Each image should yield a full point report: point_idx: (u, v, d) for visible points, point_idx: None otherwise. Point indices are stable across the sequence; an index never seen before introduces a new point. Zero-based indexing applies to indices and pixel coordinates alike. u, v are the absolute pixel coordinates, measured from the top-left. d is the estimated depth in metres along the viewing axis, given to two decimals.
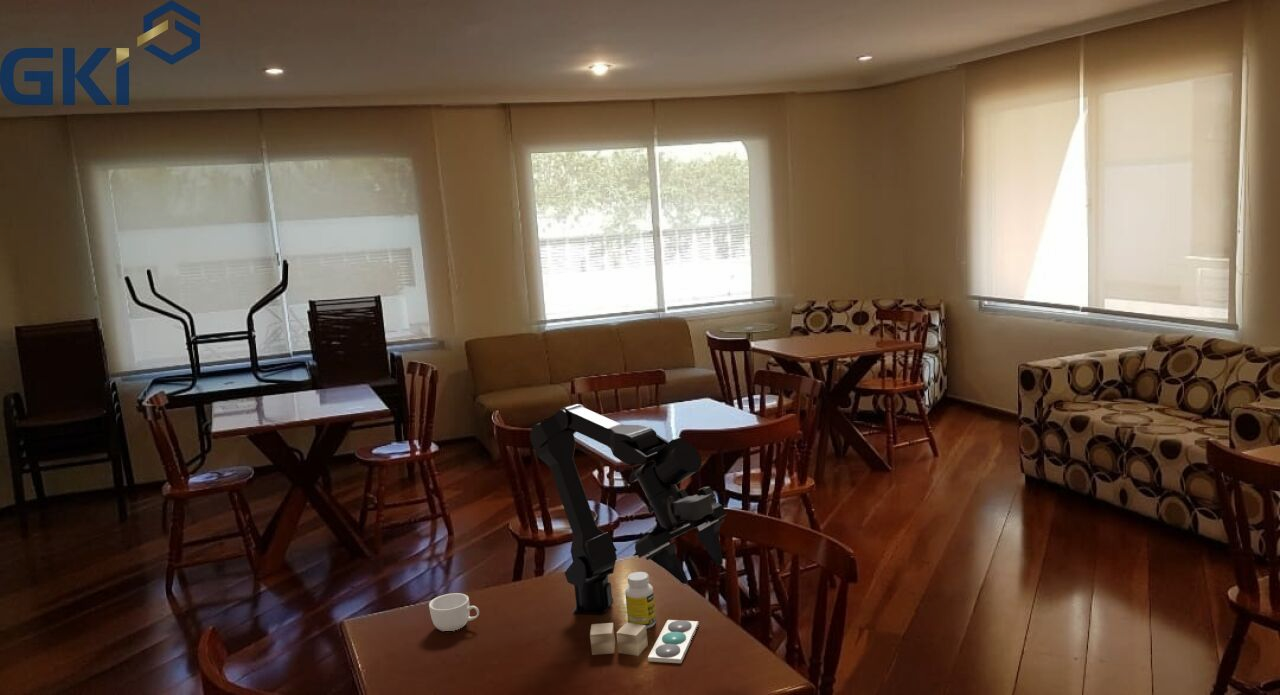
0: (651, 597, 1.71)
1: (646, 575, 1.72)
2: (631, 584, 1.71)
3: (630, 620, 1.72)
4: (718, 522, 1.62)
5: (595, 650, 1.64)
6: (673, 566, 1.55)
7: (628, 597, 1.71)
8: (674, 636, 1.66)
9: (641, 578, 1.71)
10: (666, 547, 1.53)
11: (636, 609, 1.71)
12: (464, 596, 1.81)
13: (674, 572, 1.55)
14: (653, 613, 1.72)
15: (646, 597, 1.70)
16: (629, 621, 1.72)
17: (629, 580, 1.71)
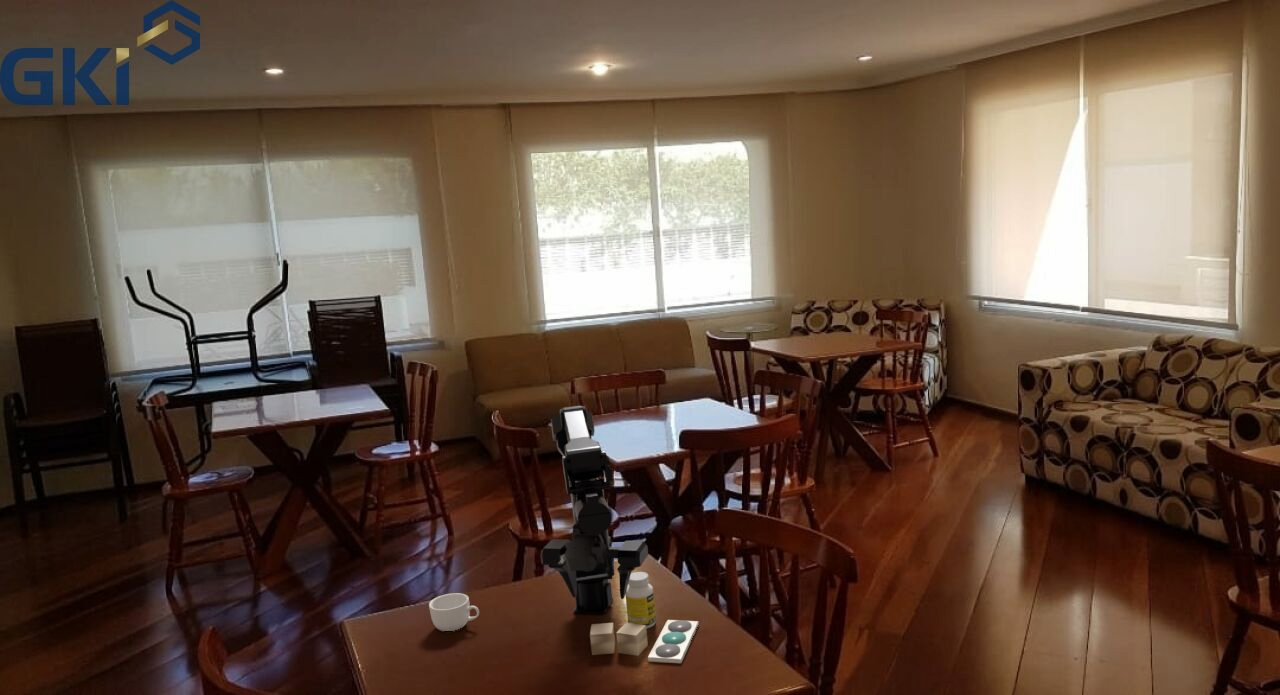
0: (651, 597, 1.71)
1: (646, 575, 1.72)
2: (631, 584, 1.71)
3: (630, 620, 1.72)
4: (623, 570, 1.58)
5: (595, 651, 1.64)
6: None
7: (628, 597, 1.71)
8: (674, 636, 1.66)
9: (641, 578, 1.71)
10: (551, 567, 1.62)
11: (636, 609, 1.71)
12: (464, 596, 1.81)
13: None
14: (653, 613, 1.72)
15: (646, 597, 1.70)
16: (629, 621, 1.72)
17: (629, 580, 1.71)
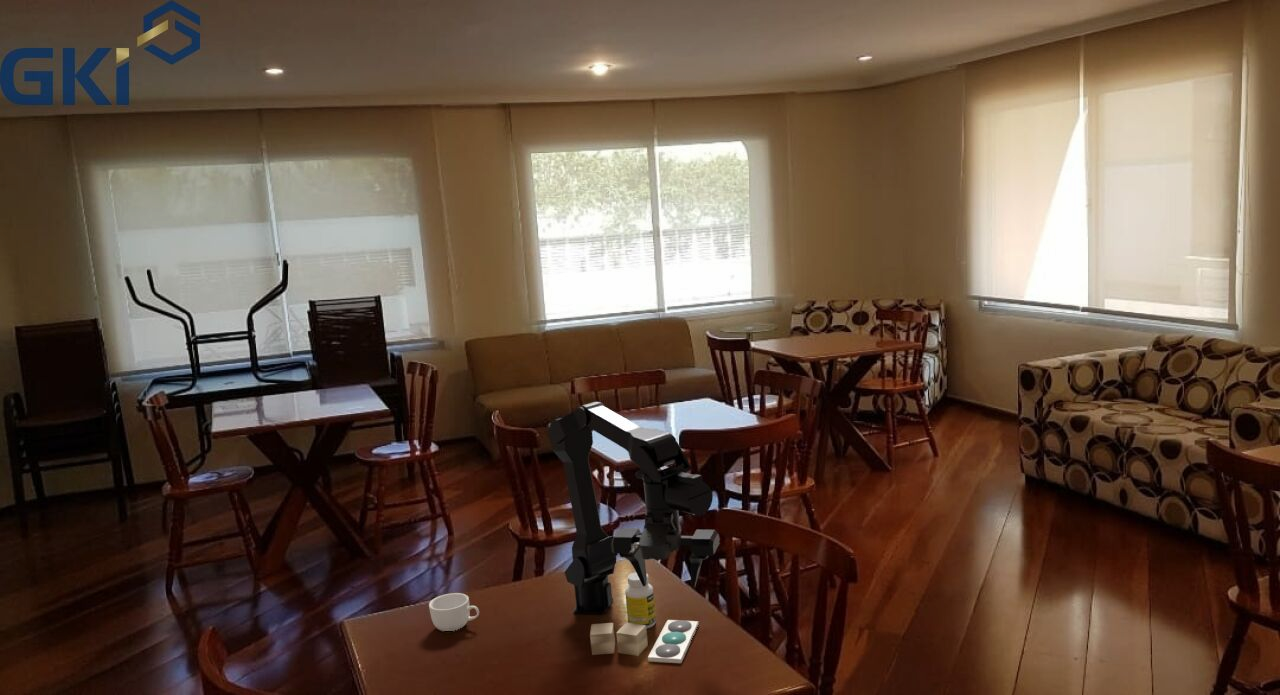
0: (651, 597, 1.71)
1: None
2: (631, 584, 1.71)
3: (630, 620, 1.72)
4: (696, 558, 1.58)
5: (595, 651, 1.64)
6: None
7: (628, 597, 1.71)
8: (674, 636, 1.66)
9: None
10: (622, 556, 1.62)
11: (636, 609, 1.71)
12: (464, 596, 1.81)
13: None
14: (653, 613, 1.72)
15: (646, 597, 1.70)
16: (629, 621, 1.72)
17: (629, 580, 1.71)
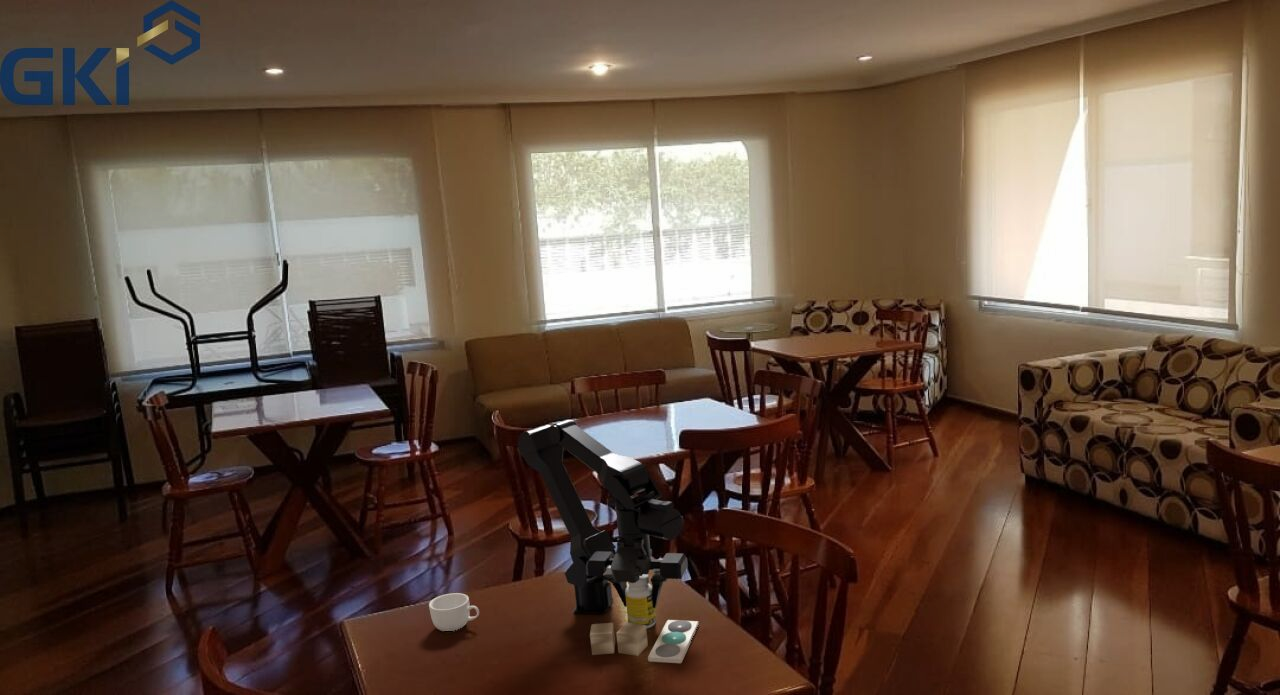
0: (651, 597, 1.71)
1: (646, 575, 1.72)
2: (631, 584, 1.71)
3: (630, 620, 1.72)
4: (656, 581, 1.68)
5: (595, 650, 1.64)
6: None
7: (628, 596, 1.71)
8: (674, 636, 1.66)
9: (641, 578, 1.71)
10: (604, 579, 1.71)
11: (636, 609, 1.71)
12: (464, 596, 1.81)
13: None
14: (653, 613, 1.72)
15: (646, 597, 1.70)
16: (629, 621, 1.72)
17: None
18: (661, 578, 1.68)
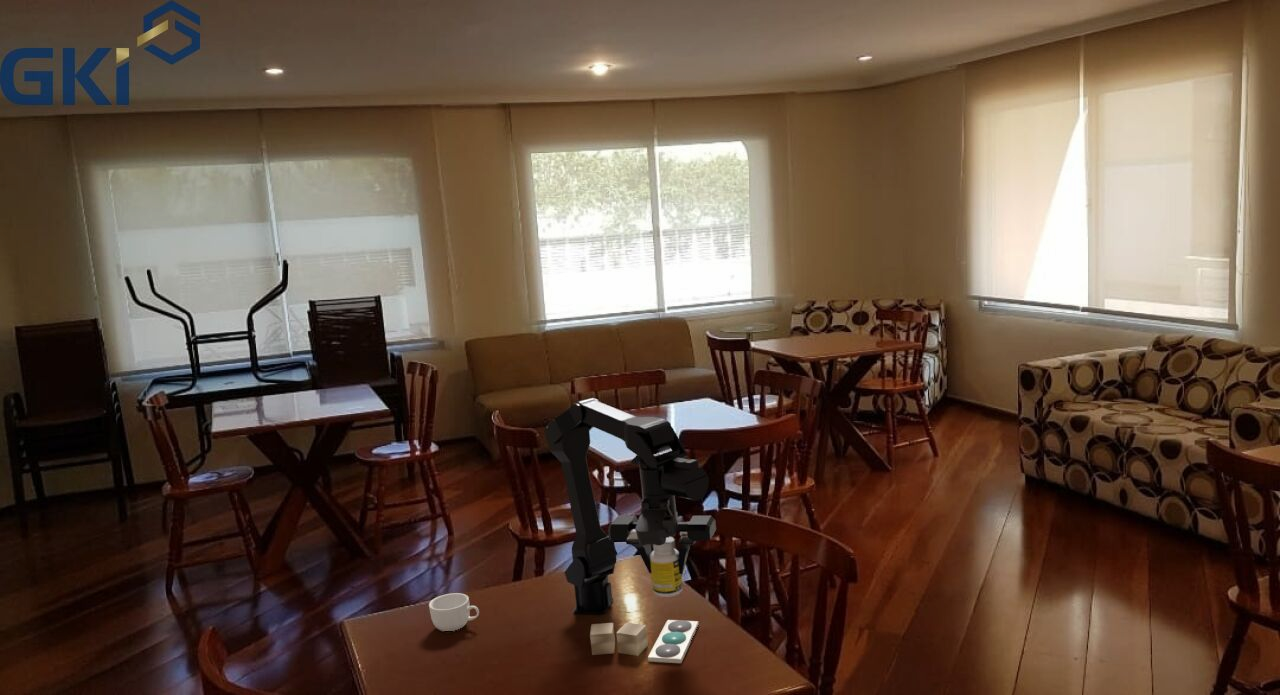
0: (678, 562, 1.62)
1: (672, 539, 1.63)
2: (656, 548, 1.61)
3: (655, 587, 1.62)
4: (683, 544, 1.59)
5: (595, 650, 1.64)
6: None
7: (653, 562, 1.62)
8: (674, 636, 1.66)
9: (667, 542, 1.61)
10: (628, 543, 1.62)
11: (662, 575, 1.61)
12: (464, 596, 1.81)
13: None
14: (680, 579, 1.63)
15: (672, 562, 1.61)
16: (654, 588, 1.63)
17: (654, 544, 1.62)
18: (688, 541, 1.59)
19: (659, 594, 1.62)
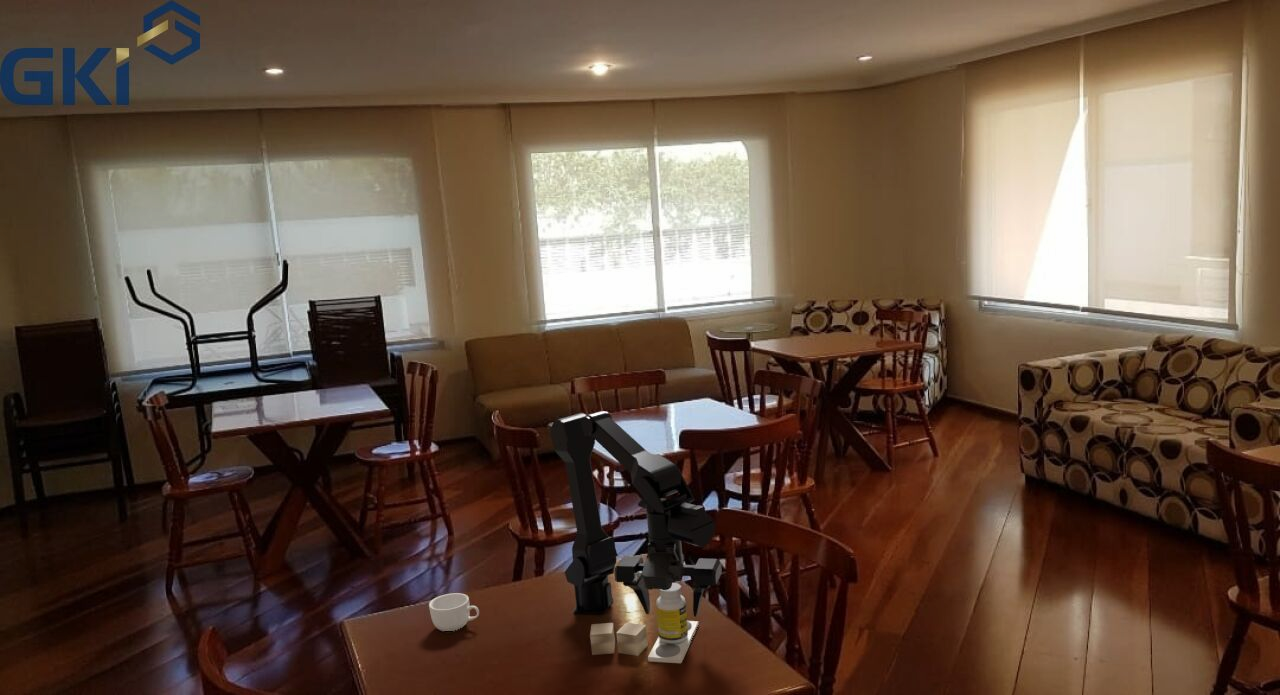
0: (684, 609, 1.63)
1: (678, 586, 1.64)
2: (663, 595, 1.62)
3: (661, 633, 1.63)
4: (697, 588, 1.59)
5: (595, 651, 1.64)
6: None
7: (659, 608, 1.63)
8: None
9: (673, 589, 1.62)
10: (625, 585, 1.63)
11: (668, 622, 1.62)
12: (464, 596, 1.81)
13: None
14: (685, 626, 1.64)
15: (679, 609, 1.62)
16: (660, 634, 1.64)
17: (660, 591, 1.63)
18: None
19: (664, 640, 1.63)
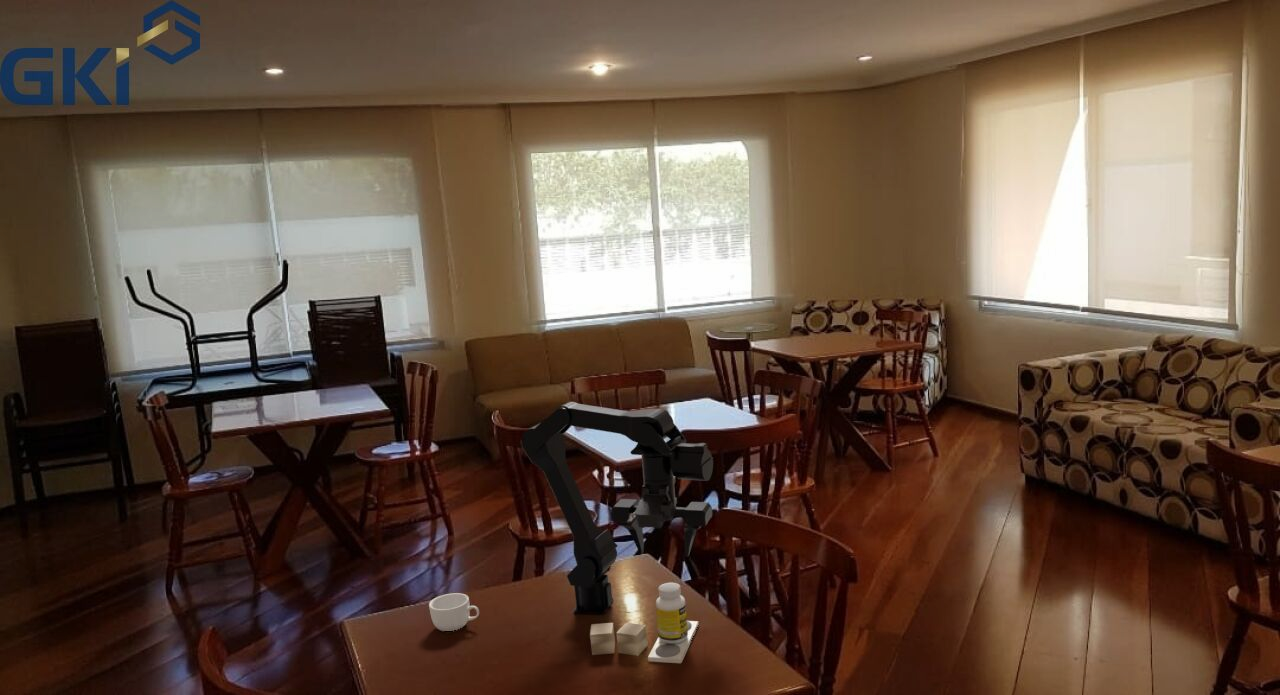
0: (683, 609, 1.63)
1: (678, 586, 1.64)
2: (662, 596, 1.62)
3: (661, 633, 1.63)
4: (689, 528, 1.68)
5: (595, 651, 1.64)
6: None
7: (659, 609, 1.63)
8: None
9: (673, 589, 1.62)
10: (620, 525, 1.72)
11: (668, 622, 1.62)
12: (464, 596, 1.81)
13: None
14: (685, 626, 1.64)
15: (678, 610, 1.62)
16: (660, 634, 1.64)
17: (660, 591, 1.63)
18: (694, 526, 1.68)
19: (664, 641, 1.63)
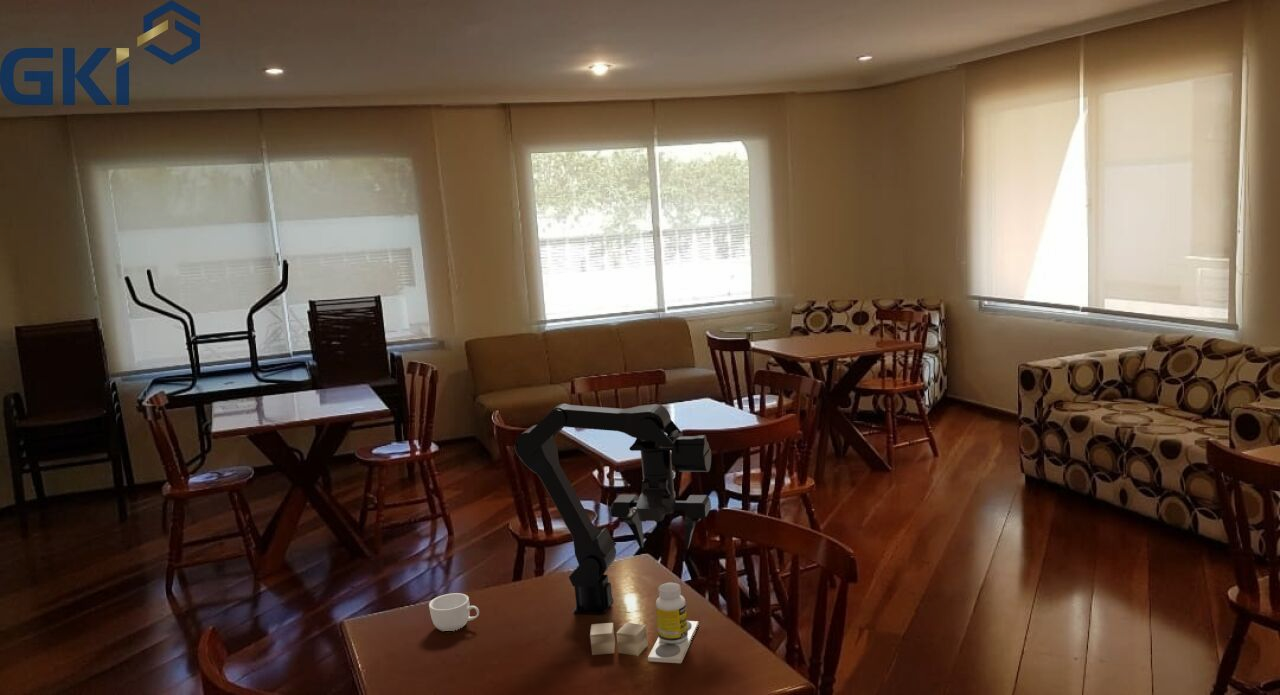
0: (683, 609, 1.63)
1: (678, 586, 1.64)
2: (662, 596, 1.62)
3: (661, 633, 1.63)
4: (689, 521, 1.71)
5: (595, 651, 1.64)
6: None
7: (659, 609, 1.63)
8: None
9: (673, 589, 1.62)
10: (621, 520, 1.74)
11: (668, 622, 1.62)
12: (464, 596, 1.81)
13: None
14: (685, 626, 1.64)
15: (678, 610, 1.62)
16: (660, 634, 1.64)
17: (660, 591, 1.63)
18: (694, 518, 1.71)
19: (664, 641, 1.63)
